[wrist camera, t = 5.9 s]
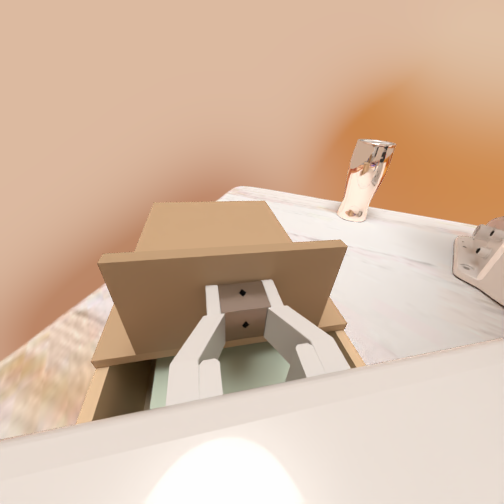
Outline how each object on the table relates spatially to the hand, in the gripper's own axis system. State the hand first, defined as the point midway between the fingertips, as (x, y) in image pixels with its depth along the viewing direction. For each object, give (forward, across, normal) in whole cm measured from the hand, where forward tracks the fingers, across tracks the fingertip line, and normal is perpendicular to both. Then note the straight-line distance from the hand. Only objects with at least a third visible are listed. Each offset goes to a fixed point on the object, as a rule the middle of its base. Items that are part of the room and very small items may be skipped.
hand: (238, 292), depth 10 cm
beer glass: (+32, -31, +13) cm, 46 cm away
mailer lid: (+10, 0, +4) cm, 11 cm away
